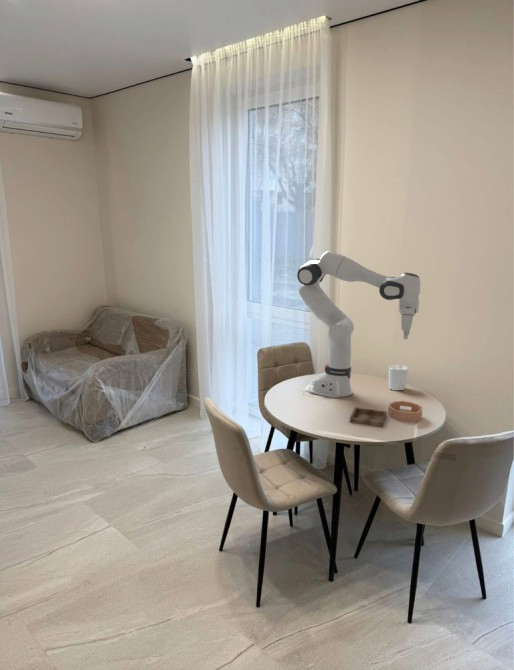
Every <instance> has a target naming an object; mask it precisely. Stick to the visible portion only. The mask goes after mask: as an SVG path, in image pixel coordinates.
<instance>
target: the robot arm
mask: <svg viewBox="0 0 514 670" xmlns="http://www.w3.org/2000/svg"><path fill="white" fill-rule="evenodd" d="M326 275H329V276H332V277H334V278H336V279H338V280H341V281H344V282H348V283H349V282H350V283H352V282H363V283H365V284H366V283H367V284H369V285H371V286H373V287H376V288H378V289H379V290H378V291H379V292H378V293H379V294H380V297H382V299H383V300H387V301H393V300H399V303H398V312H399V314H400V319H401V320H400V321H401V322H400V323H401V324H400V325H401V331H403V339H404V340H407V339H408V338H409V334H410V330H411V328H412V326H413V325H412V324H413V320H414V319H413V318H414V317H415V316H416V313H419V307H420V299H419V296H420V293H421V278H420V276H418V274H415V273H412V272H403V273H401V274H400V275H398V276H385V275H383V274H380V273H377V272H376V271H374V270H370V269H368V268H367V267H365V266H363V265H362V264H360V263H358V262H356V260H353V259H351V258H350V257H347V256H346V255H343V254H340V253H337V252H333V251H325V252H323V254H322V255H321V256H320V258H313V259H311V260H308V261H306V262H305V263H304V264H303V265H301V266H300V267H299V269H298V270H297V275H296V277H297V280H298V281H299V283H300V284H301V285H300V287H299V289H298V294H299V295H300V297H301V299H302V300H303V302H304V304H305V305H306V306H307V307H308V309H309V310H310V311H311V312H312V313H313V315H314V316H315V317H316V318H317V319H318V320H319V321H321V322H322V323H323V324H324V325H325V326H327V327H328V348H329V352H328V353H329V356H328V363H326V364H325V366H324V372H322V373H320V374H319V375H317V376H316V377H315V378H314V379H313V382H312V383H313V384H312V385H313V388H312V390H309V389H311V388H310V386H309V387H308V390H309V391H308V392H309V393H310V394H315V395H318V396H319V395H320V396H324V397H329V398H334V399H336V398H342V397H348V396H351V395H352V393H353V390H352V386H351V376H352V366H351V365H352V364H351V360H352V359H351V358H352V347H351V344H352V342H351V341H352V333H353V332H354V329H355V328H354V326H355V325H354V323H353V321H352V319H351V318H350V317H348V315H347V314H345V313H344V312H343V311H342V310H341V309H340V308H339V307H338V306H337V305H336V304H335V303H334V302H333V300H331V298H330V297H329V295H327V294H326V293H325V291H324V290H323V289H322V287H321V286H320V283H322V281H323V280H324V279H325V276H326Z"/></svg>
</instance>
